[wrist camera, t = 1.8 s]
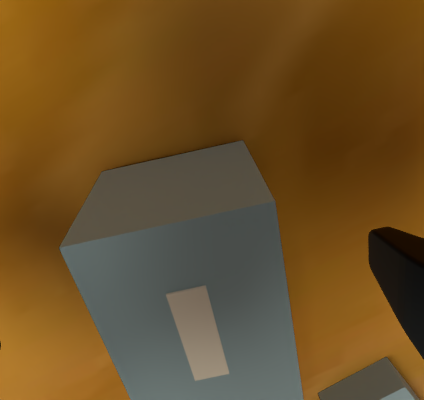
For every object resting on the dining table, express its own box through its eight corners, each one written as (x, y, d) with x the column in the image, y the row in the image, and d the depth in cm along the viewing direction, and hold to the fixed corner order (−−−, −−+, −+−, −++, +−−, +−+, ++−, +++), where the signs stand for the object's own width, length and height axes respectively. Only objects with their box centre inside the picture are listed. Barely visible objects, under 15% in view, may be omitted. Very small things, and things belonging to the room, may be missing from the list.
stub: (272, 312, 16) (307, 422, 11) (162, 335, 16) (154, 452, 12) (242, 140, 12) (276, 202, 8) (102, 171, 12) (57, 249, 8)
